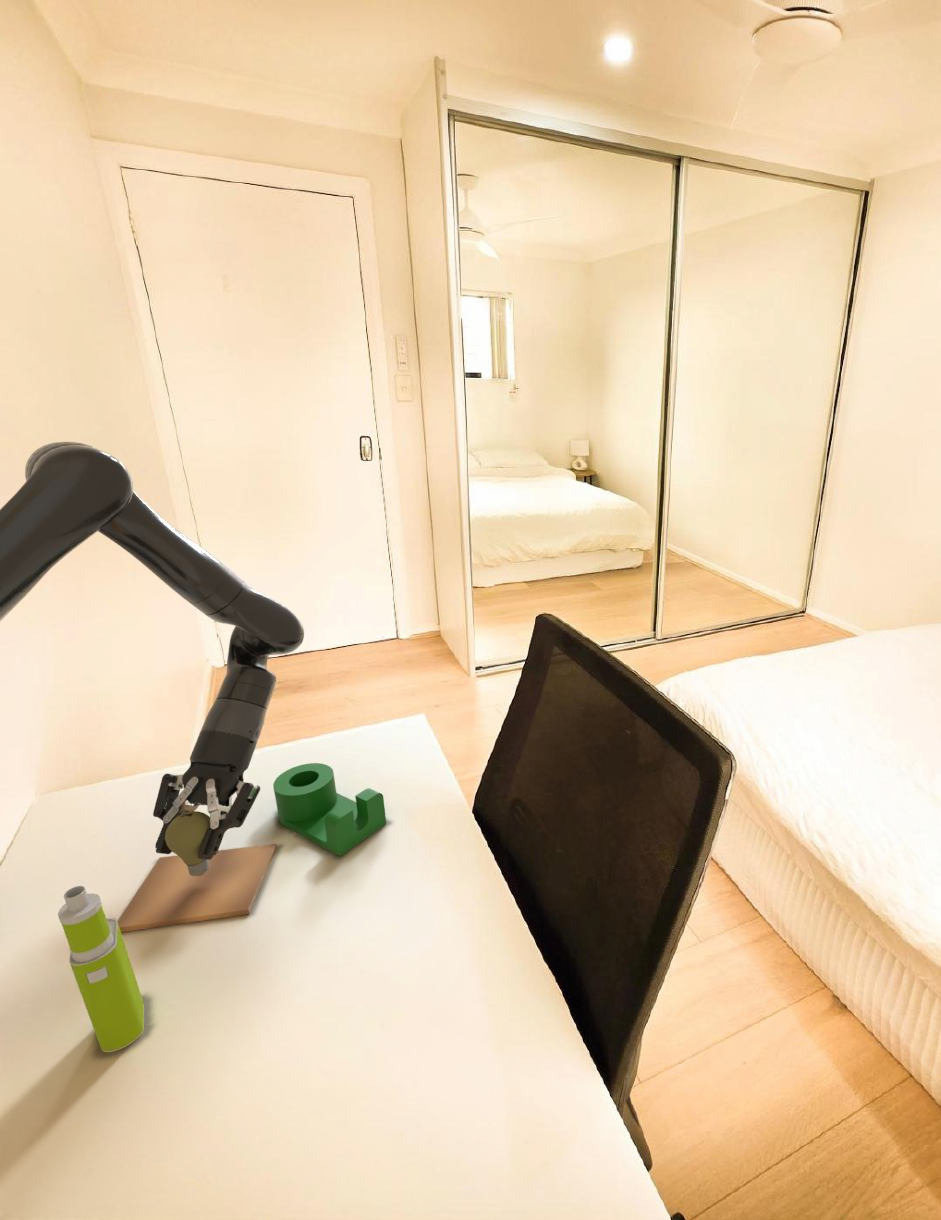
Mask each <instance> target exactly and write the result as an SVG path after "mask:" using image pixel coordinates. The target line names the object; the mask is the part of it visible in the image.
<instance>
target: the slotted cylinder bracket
mask: <svg viewBox="0 0 941 1220" xmlns="http://www.w3.org/2000/svg"><path fill="white" fill-rule="evenodd" d="M334 773H335V772H334V769H333V768H332V767H331V766H330V765H327V764H325V763H319V762H310V763H304V764H299V765H297V766H293V767H291V768H289V769H287V770H285V771H283V772H282V773H280V774H279V775H278V776H277V777H276V778H275V780H274V782H273V783H272V786H273V788H272V789H273V792H274V798H275V804H276V810H277V813H278V819H279V822H280V824H281V825H282V826H284V827H285V828H287V829H289V830H291V831H293V832H294V833H296V834H298V835H300V836H302V837H304V838H305V839H308V840H309V841H311V842H313V843H314V844H316V845H318V846H319V847H322V848H324V849H325V850H328V851H329V852H331V853H333V854H334V855H337V856H339V857H341V856H343V855H344V854H345V853H347V852H348V851H349V850H351V849H352V848H354V847H355V846H357V845H358V844H359V843H360V842H362V841H363V840H365V839H366V838H367V837H370V835H372V834H373V833H374V832H376V831H377V830H378V829H380V828H381V827H383V826H385V824H387V816H386V810H385V809H386V807H385V800H384V795H383V793H381V792H379V791H377V790H374V789H372V788H370V787H367V788H365V789H363V790H362V791H361V792H358V793H357V794H356V795H355V798H354V799H355V801H354V800H352V799H350V798H348V797H346V796H344V795H342V794H340V793H338V792H337V787H336V779H335V774H334Z"/></svg>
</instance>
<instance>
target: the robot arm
mask: <svg viewBox="0 0 941 1220" xmlns="http://www.w3.org/2000/svg"><path fill="white" fill-rule="evenodd" d="M24 477H25V482H24V483H23V484H22V486H21V487H20V488H19V489H18V490H17V491H16V493H15V494H13V496H12V497H11V498H10V499H9V500H7V502H6V503H5V504H4V505H3V506H2V507H1V508H0V622H2V620H4V618H5V617H7V616H8V614H10V612H11V611H12V610H13V609H14V608H16V607H17V606H18V604H20V602H22V601H23V599H24V598H25V597H26V596H27V595H28V594H29V593H30V592H31V591H32V590H33V589H34V587H36V585H38V584H39V582H40V581H41V580H42V579H43V578H44V576H46V574H47V573H48V572H49V571H50V570H51V569H52V568H53V567H55V566H56V565H57V564H58V563H59V562H60V561H61V560H62V559H64V558H65V557H66V556H68V554H70V553H71V552H72V551H74V550H75V549H76V548H78V547H79V546H80V545H82V544H83V543H84V542H85V541H86V540H88V539H89V538H91V537H93V536H94V535H95V534H96V533H97V532H98V533H100V534H101V535H103V536H104V537H106V538H107V539H109V540H111V541H112V542H113V543H115V544H116V545H117V546H119V547H120V548H122V549H123V550H124V551H126V552H127V553H128V554H130V555H131V556H132V557H133V558H134V559H136V560H137V561H139V563H141V564H142V565H143V566H144V567H145V568H147V569H148V570H149V571H150V572H152V574H154V575H155V576H156V577H157V578H158V579H160V580H161V581H162V582H163V583H164V584H165V585H167V587H169V588H170V589H171V590H173V591H174V592H175V593H176V594H177V595H179V596H180V597H181V598H182V599H184V600H185V601H186V602H188V603H189V604H190V605H192V606H193V607H194V608H196V609H197V610H198V611H200V613H202V614H204V616H207V617H208V618H209V619H211V620H213V621H215V622H217V623H220V624H225V625H230V626H233V627H234V628H233V629H232V632H231V635H230V638H229V643H228V651H227V659H226V673H225V676H224V678H223V680H222V683H221V685H220V688H219V690H218V692H217V695H216V697H215V699H214V702H213V704H212V706H211V707H210V709H209V711H208V713H207V714H206V717H205V719H204V722H203V724H202V726H201V728H200V731H199V734H198V737H197V739H196V741H195V744H194V746H193V749H192V751H191V754H190V756H189V761H190V765H189V767H188V769H187V770H186V771H185V772H184V773H183V774H173V773H172V774H171V773H165V774H164V775H163V776H162V778H161V781H160V784H159V789H158V793H157V797H156V800H155V805H154V809H153V812H152V815H153V817H154V818H158V819H159V820H161V821H162V827H161V830H160V832H159V834H158V836H157V840H156V842H155V846H154V847H155V853H156V854H163V855H169V854H170V855H171V853H173V852H172V851H171V850H170V849H169V848H168V846H167V844H166V841H165V834H166V830H167V828H168V826H169V824H170V823H171V822H172V821H173V820H174V819H175V818H176V817H178V816H179V815H181V814H183V813H186V812H191V811H196V810H197V809H198V808H199V807H200V806H207V808H206V810H207V812H208V813H209V817H210V828H211V830H208V829H207V831H206V834H205V837H204V839H203V842H202V845H201V847H200V850H199V853H198V858H199V859H208V860H210V859H212V858H213V856H214V855H216V853H217V852H218V851H219V850H220V847H221V844H222V841H223V839H224V836H225V834H226V832H227V831H228V830H230V829H233V828H241V827H242V826H243V825H244V823H245V821H246V818H247V816H248V815H249V812H250V811H251V809H252V807H253V805H254V803H255V801H256V799H257V798H258V795H259V793H260V791H261V786H260V785H259V784H256V783H252V782H245V781H244V774H245V771H246V770H248V769H249V766H250V764H251V761H252V758H253V755H254V752H255V750H256V747H257V744H258V742H259V739H260V736H261V733H262V731H263V727H264V724H265V720H266V716H267V715H266V714H267V711H268V708H269V706H270V703H271V700H272V698H273V695H274V692H275V689H276V685H277V676H276V675H275V673H273V671H271V670H269V669H267V667H268V660H269V657H270V656H277V655H286V654H290V653H293V652H294V651H296V650H297V649H299V647H301V645H302V644H303V642H304V637H305V629H304V626H303V623H302V622H301V620H300V618H299V617H298V615H297V614H295V612H293V611H292V610H291V609H289V608H288V607H287V606H285V605H283V604H282V603H280V602H278V601H277V600H275V599H274V598H272V597H270V596H268V595H266V594H264V593H262V592H261V591H258V590H256V589H254V588H252V587H251V586H249V585H248V584H247V583H246V582H245V581H244V580H243V579H242V578H240V577H239V576H238V575H237V574H236V573H235V572H234V571H232V570H231V569H230V568H229V567H227V566H226V565H225V563H223V562H221V561H220V560H219V559H218V558H216V557H215V556H214V555H213V554H211V553H210V552H209V551H207V550H206V549H204V548H203V547H201V546H200V545H199V544H197V543H196V542H194V541H193V540H192V539H191V538H189V537H188V536H186V535H185V534H183V533H182V532H180V531H179V530H178V529H177V528H175V527H174V526H173V525H171V523H169V522H167V521H166V520H165V519H164V518H163V517H162V516H160V515H159V514H158V513H157V512H156V511H155V510H154V509H153V508H151V506H149V505H148V504H147V503H146V502H145V501H144V500H143V499H142V498H141V497H140V496H139V495H138V494H137V493H136V491H134V484H133V483H134V482H133V478H132V476H131V474H130V472H129V470H128V469H127V466H125V465H124V464H123V463H122V462H121V461H120V460H119V459H117V458H116V457H115V456H113V455H112V454H110V453H108V452H106V451H103V450H101V449H99V448H96V447H95V446H92V445H89V444H85V443H81V442H77V441H57V442H51V443H47V444H44V445H42V446H41V447H38V448H37V449H35V450H34V451H33V452H32V453H31V454H30V456H29V457H28V458H27V461H26V464H25V469H24ZM182 789H183V790H182ZM181 790H182V791H181ZM180 791H181V792H180ZM235 794H236V797H235V799H234V801H233V803H232V796H234V795H235Z"/></svg>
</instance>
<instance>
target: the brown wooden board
mask: <svg viewBox="0 0 941 1220" xmlns="http://www.w3.org/2000/svg"><path fill="white" fill-rule="evenodd" d="M277 849H278V845H277V843H271V844H270V843H269V844H262V845H254V846H246V847H238V848H236V847H235V848H228V849H221V850H220V849H219V850H218V852H217V853H216V855H214V856H213V858H212V859H210V860H208V862H209V866H210V867H209V869H208V870H207V871H206V872H205V873H204V874H203V875H201V876H191V875H190V874H189V870H188V867H187V865H186V864H185V863H184V862H183V860H182V859H181V858H180V857H179V856H178V855H169V856H161V857H159V858H158V860H157V861H156V863H155V864H154V865H153V867H152V868H151V870H150V871H149V873H148V875H147V876H146V877H145V879H144V881H142V884H141V885H140V887H139V888H138V889H137V891H136V892H135V894H134V896H133V897H132V899H130V901H129V903H128V904H127V906H126V908H125V909H124V911H123V912H122V913H121V915H120V917H119V918H118V919H117V922H118V925H119V928H120V931H121V933H125V932H130V931H138V930H144V929H152V928H159V927H160V928H161V927H166V926H167V927H168V926H175V925H180V924H181V925H182V924H187V923H196V922H201V921H203V922H204V921H209V920H215V919H216V920H217V919H224V918H232V917H237V916H238V917H239V916H245V915H250V914H251V911H252V910H253V909H252V908H253V906H254V904H255V901H256V899H257V897H258V895H259V892H260V891H261V888H262V885H263V883H264V880H265V878H266V875H267V873H268V870H269V868H270V866H271V863H272V861H273V860H274V857H275V855H276V851H277Z"/></svg>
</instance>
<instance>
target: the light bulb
mask: <svg viewBox="0 0 941 1220" xmlns="http://www.w3.org/2000/svg"><path fill="white" fill-rule="evenodd" d="M207 829H208V830H211V828H210V815H208V814H206V813H205V812H203V811H199V810H197V811H196V810H195V811H191V812H186V813H183V814H181V815H179V816H178V817H176V818H175V819H174V820H173V821H172V822H171V823H170V824H169V826H168V828H167V830H166V834H165V841H166V844H167V846H168V848H169V849H170V850H171V851H172V852H171V853H174V854H175V856H177V855H178V856H179V857H180V858H181V859H182V860H183V862H184V863H185V864H186V865H187V867H188V870H189V874H190V875H191V876H201V875H203V874H204V873H205V872H206V871H207V870H208V869H209V867H210V866H209V862H208V859H199V858H198V853H199V850H200V847H201V845H202V842H203V839H204V837H205V834H206V831H207Z"/></svg>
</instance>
